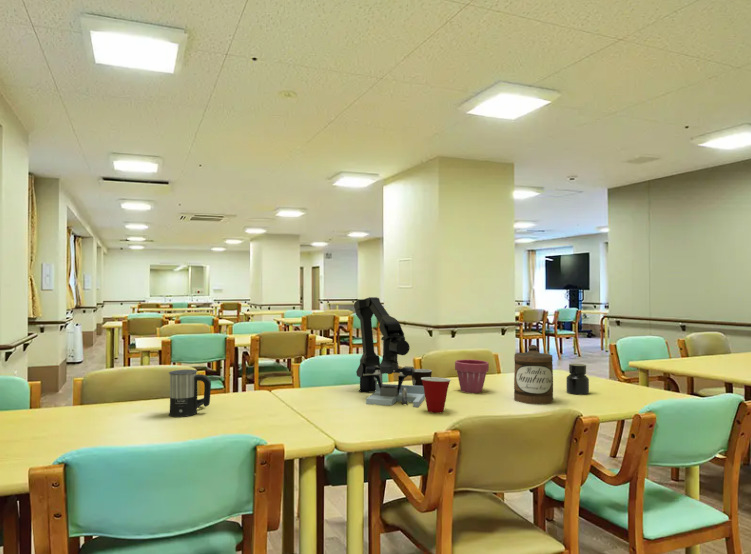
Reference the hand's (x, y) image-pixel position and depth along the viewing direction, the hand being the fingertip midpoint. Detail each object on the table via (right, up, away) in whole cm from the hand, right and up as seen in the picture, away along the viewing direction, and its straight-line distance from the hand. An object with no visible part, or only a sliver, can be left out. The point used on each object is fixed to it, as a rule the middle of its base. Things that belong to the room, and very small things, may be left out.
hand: (389, 392), depth 210 cm
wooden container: (+57, -4, +1) cm, 57 cm away
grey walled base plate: (+2, -3, -3) cm, 5 cm away
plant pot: (+36, -4, +19) cm, 40 cm away
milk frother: (-72, -2, -22) cm, 75 cm away
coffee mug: (+13, -4, +12) cm, 18 cm away
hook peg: (+5, -3, -8) cm, 10 cm away
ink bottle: (+81, -4, +17) cm, 82 cm away
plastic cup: (+16, -3, -19) cm, 25 cm away
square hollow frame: (0, -1, 0) cm, 1 cm away
